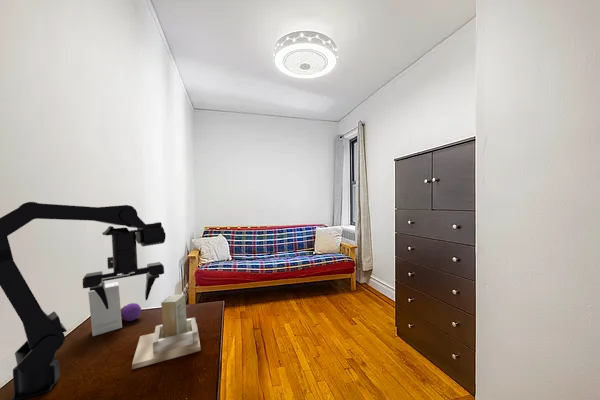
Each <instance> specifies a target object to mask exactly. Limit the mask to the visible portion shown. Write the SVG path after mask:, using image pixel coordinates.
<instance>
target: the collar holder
mask: <svg viewBox="0 0 600 400" xmlns="http://www.w3.org/2000/svg"><path fill="white" fill-rule="evenodd" d="M199 335H200V334H199V329H198V324H197V321H196V317H190V318H187V333H183V334H178V335H174V336H170V337H166V338H163V324H159V325H158V324H157V325H155V330H154V332H153V333H149V334H147V333H146V334H144V335H140V336H139V339H138V343H137V345H136V350H135V353H134V356H133V359H132V364H131V370H135V369H139V368H143V367H146V366H149V365H153V364H156V363H160V362H164V361H165V362H166V361H168V360H172V359H176V358H179V357H183V356H186V355H191V354H193V353H197V352H200V351H201V349H202V348H201V342H200V336H199Z"/></svg>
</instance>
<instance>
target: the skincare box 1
mask: <svg viewBox="0 0 600 400" xmlns="http://www.w3.org/2000/svg"><path fill="white" fill-rule="evenodd" d="M105 289H106V294H107V298H108V306H109V309H106V307H105V305H104V303H103V301H102V300H101V298H100V296H99V295H98V294H97V293H96V291H95V290H90V288H88V304H89V312H90V321H91V322H90V323H91V324H90V325H91V332H92V333H91V334H92V337H95V336H98V335H102V334H105V333H108V332H113V331H115V330H119V329H121V328H123V323H122V319H123V318H122V317H121V309H122V307H121V299H120V298H121V297H120V296H121V295H120V284H119V282H118V281H114V282H110V283H105Z"/></svg>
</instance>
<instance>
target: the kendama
mask: <svg viewBox="0 0 600 400" xmlns="http://www.w3.org/2000/svg"><path fill="white" fill-rule="evenodd" d="M141 313H142V307H141V306H140V304H139V303H135V302H132V303H128V304H126V305H124V306H123V307H121V319H123V320H124V321H127V322H133V321H135V320H137V319H138V318H139V317H140V315H142V314H141Z"/></svg>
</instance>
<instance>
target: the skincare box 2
mask: <svg viewBox="0 0 600 400" xmlns="http://www.w3.org/2000/svg"><path fill="white" fill-rule="evenodd" d="M160 303H161V322H162V324H163V338H166V337H170V336H174V335H178V334H183V333H187V319H188V317H187V304H186V294H185V293H183V294H182V293H181V294H171V295H169V296H168V297H166V298H165V299H164V300H163V301H161V302H160ZM162 324H161V325H162Z"/></svg>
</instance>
